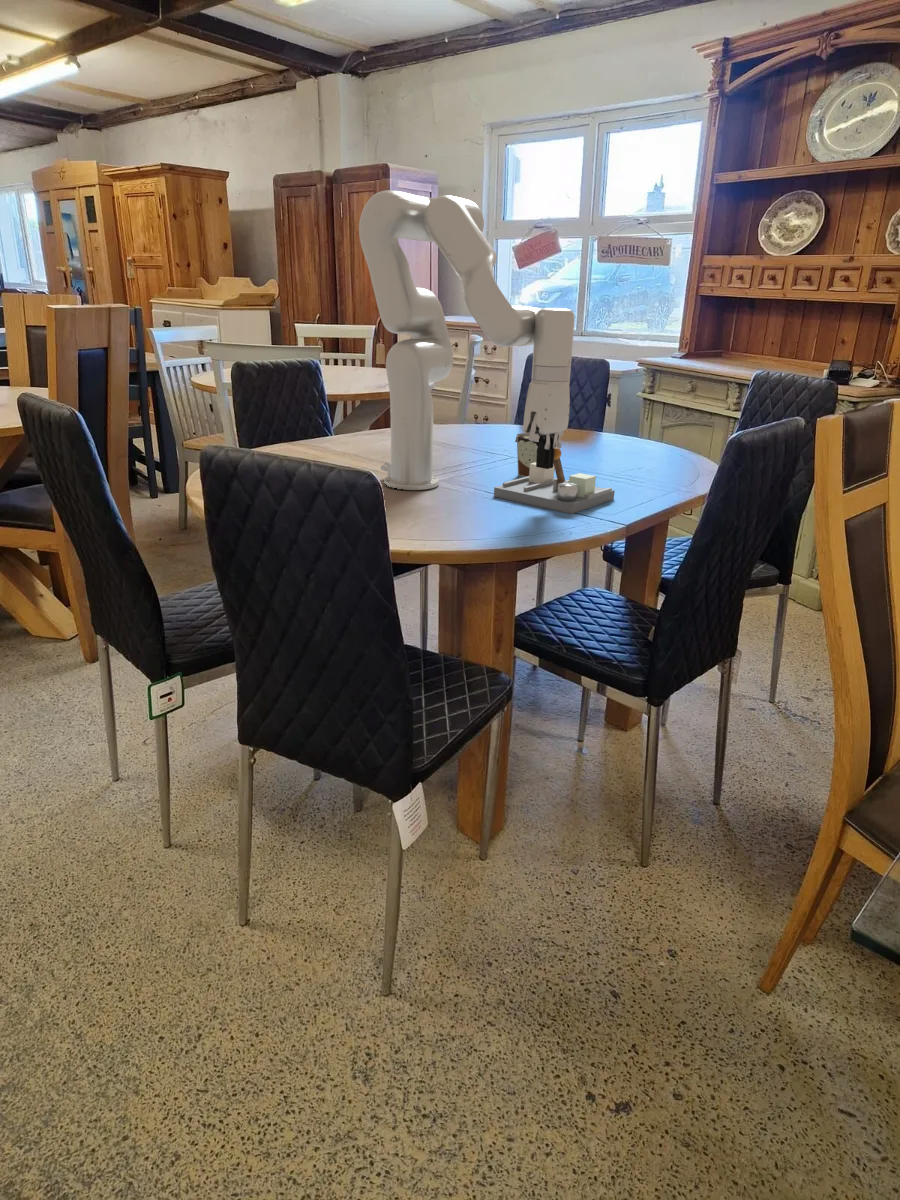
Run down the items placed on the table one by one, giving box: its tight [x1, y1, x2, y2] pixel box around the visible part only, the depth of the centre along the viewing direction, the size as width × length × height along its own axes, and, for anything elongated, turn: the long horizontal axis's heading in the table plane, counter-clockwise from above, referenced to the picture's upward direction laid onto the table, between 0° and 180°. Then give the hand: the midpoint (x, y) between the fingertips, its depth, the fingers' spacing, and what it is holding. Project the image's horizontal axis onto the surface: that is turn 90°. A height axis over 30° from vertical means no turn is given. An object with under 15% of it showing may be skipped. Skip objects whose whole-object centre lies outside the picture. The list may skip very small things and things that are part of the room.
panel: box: [493, 476, 616, 515], centre depth 165 cm, size 20×17×4 cm
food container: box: [514, 432, 562, 478], centre depth 184 cm, size 12×6×10 cm, turn 47°
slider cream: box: [529, 462, 555, 483], centre depth 171 cm, size 4×4×4 cm
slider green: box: [568, 472, 597, 498], centre depth 160 cm, size 4×4×4 cm
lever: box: [553, 447, 566, 484], centre depth 161 cm, size 3×3×10 cm
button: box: [557, 483, 578, 502], centre depth 156 cm, size 4×4×3 cm
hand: (544, 467), depth 157 cm, fingers closed
